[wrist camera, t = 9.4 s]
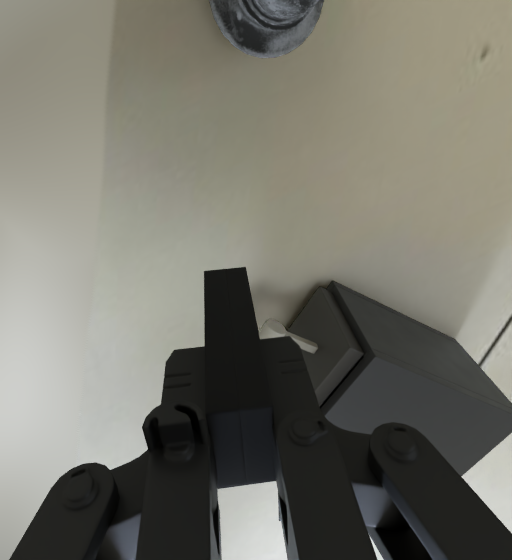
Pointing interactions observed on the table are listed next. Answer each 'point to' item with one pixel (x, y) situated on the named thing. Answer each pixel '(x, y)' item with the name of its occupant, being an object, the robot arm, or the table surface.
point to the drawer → (321, 342)
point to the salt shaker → (266, 24)
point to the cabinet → (416, 384)
